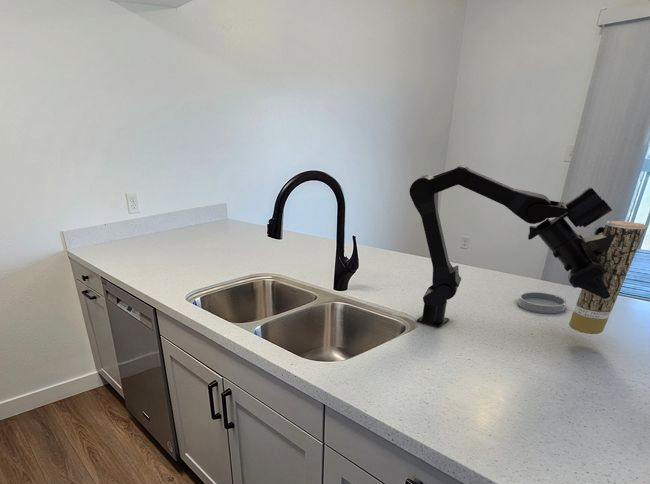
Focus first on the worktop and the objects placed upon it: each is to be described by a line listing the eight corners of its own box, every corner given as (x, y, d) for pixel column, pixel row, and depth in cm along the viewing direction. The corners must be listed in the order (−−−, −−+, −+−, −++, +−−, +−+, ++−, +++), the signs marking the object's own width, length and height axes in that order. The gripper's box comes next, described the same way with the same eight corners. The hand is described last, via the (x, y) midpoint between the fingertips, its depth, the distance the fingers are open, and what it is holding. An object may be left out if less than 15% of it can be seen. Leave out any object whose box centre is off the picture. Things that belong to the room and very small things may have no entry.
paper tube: (609, 335, 101) (655, 227, 90) (579, 335, 102) (622, 226, 91) (589, 324, 108) (630, 221, 96) (561, 323, 108) (599, 220, 97)
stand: (557, 316, 120) (559, 309, 119) (511, 306, 128) (513, 299, 127) (569, 304, 127) (571, 297, 126) (525, 296, 135) (527, 289, 134)
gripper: (607, 225, 87) (657, 284, 88) (596, 209, 102) (638, 260, 102) (550, 260, 95) (596, 314, 95) (547, 240, 109) (586, 287, 109)
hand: (605, 292), depth 100 cm, fingers closed on paper tube, 7 cm apart
